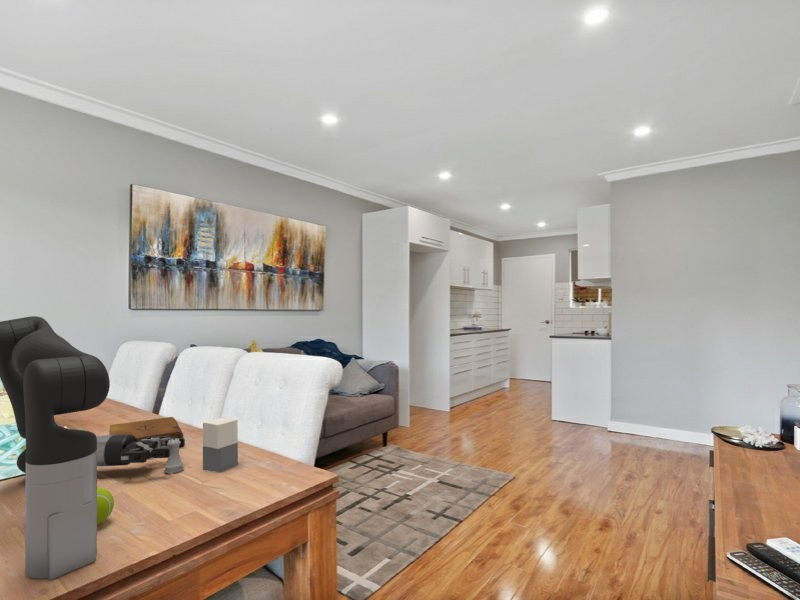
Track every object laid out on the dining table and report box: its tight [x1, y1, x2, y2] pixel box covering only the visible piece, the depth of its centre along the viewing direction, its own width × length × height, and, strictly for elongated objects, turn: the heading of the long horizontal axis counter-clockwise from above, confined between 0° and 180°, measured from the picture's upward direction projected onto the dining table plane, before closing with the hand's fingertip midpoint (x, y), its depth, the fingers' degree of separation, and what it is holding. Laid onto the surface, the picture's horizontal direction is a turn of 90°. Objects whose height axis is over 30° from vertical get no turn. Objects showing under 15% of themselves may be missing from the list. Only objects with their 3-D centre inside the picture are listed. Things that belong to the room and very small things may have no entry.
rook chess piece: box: [163, 438, 184, 475], centre depth 111 cm, size 4×4×8 cm
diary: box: [108, 416, 184, 449], centre depth 135 cm, size 23×19×6 cm
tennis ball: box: [97, 486, 115, 526], centre depth 82 cm, size 7×7×7 cm
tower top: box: [202, 416, 239, 449], centre depth 113 cm, size 6×6×6 cm
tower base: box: [202, 443, 239, 473], centre depth 113 cm, size 6×6×6 cm
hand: (177, 447), depth 111 cm, fingers open, 8 cm apart
